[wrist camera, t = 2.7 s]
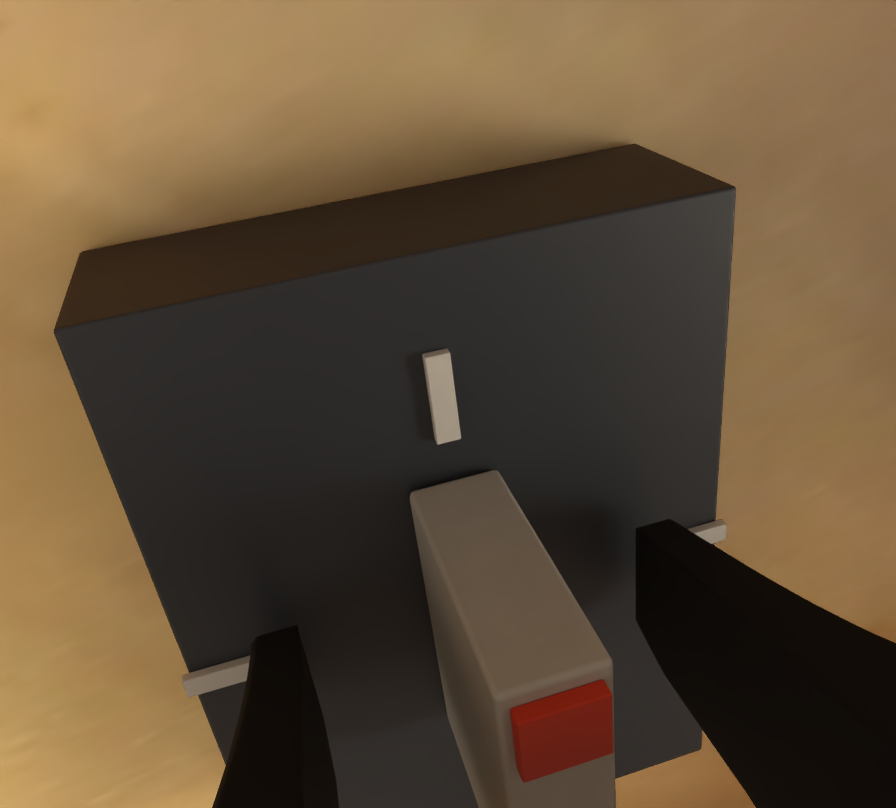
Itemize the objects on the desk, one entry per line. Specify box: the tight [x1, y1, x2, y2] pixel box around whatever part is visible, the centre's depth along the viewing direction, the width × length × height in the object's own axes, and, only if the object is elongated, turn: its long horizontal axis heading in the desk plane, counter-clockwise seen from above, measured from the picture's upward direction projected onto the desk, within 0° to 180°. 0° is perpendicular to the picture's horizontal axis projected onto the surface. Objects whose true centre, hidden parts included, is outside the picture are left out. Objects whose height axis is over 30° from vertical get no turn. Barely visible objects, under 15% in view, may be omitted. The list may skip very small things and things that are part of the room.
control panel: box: [54, 144, 736, 808], centre depth 15 cm, size 12×9×3 cm
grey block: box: [410, 470, 616, 808], centre depth 12 cm, size 5×1×4 cm, turn 7°
